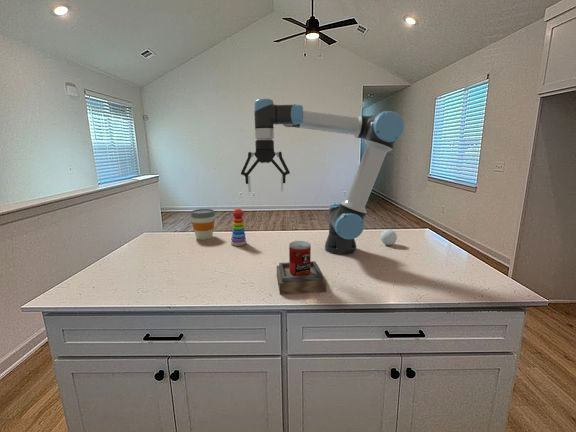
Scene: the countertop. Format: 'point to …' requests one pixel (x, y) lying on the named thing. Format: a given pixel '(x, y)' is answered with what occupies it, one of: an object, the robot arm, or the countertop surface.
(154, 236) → the countertop surface
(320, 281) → the square wooden tray
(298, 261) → the canned food
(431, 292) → the countertop surface
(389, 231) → the ball
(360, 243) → the countertop surface
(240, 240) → the stacking toy
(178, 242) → the countertop surface
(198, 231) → the reusable coffee cup
